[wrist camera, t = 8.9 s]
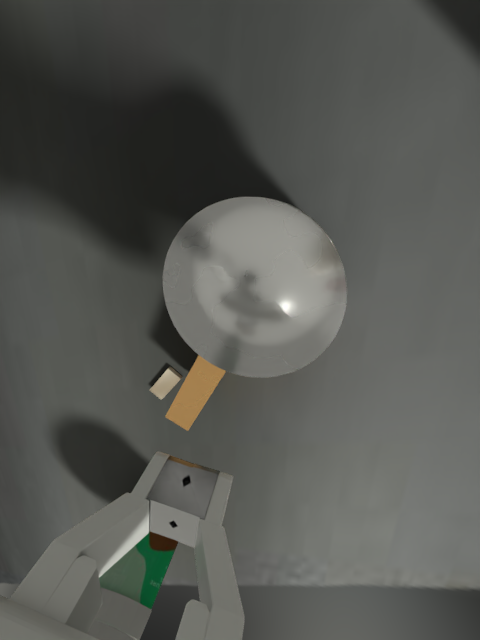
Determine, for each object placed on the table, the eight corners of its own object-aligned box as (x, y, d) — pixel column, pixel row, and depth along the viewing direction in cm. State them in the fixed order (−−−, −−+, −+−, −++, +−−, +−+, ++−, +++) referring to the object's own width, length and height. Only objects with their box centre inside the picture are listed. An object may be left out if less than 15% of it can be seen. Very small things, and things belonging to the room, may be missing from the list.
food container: (141, 463, 25) (48, 602, 17) (198, 495, 25) (133, 655, 16) (119, 521, 31) (40, 647, 22) (165, 548, 31) (103, 687, 22)
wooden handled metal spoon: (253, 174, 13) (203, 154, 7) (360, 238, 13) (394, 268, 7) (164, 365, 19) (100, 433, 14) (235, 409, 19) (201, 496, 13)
